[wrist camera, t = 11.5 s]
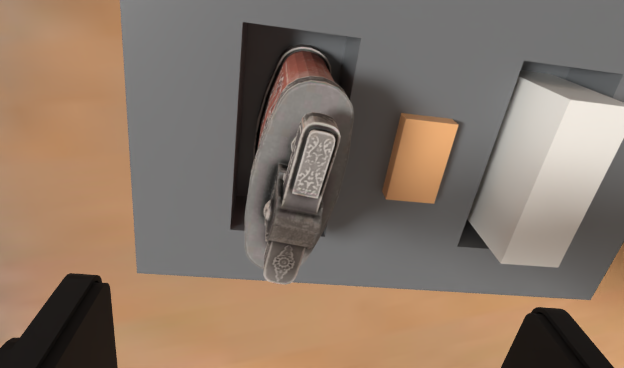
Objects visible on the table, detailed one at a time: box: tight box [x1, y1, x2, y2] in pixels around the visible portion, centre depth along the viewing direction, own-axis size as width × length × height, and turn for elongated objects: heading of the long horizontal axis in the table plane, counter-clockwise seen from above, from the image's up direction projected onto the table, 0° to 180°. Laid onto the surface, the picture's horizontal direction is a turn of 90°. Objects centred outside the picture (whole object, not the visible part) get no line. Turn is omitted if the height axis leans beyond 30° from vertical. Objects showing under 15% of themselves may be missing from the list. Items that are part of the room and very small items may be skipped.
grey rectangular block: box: [120, 0, 624, 300], centre depth 21 cm, size 26×16×5 cm, turn 82°
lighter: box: [245, 44, 354, 284], centre depth 18 cm, size 8×3×10 cm, turn 165°
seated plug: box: [467, 70, 624, 268], centre depth 21 cm, size 3×8×6 cm, turn 172°
